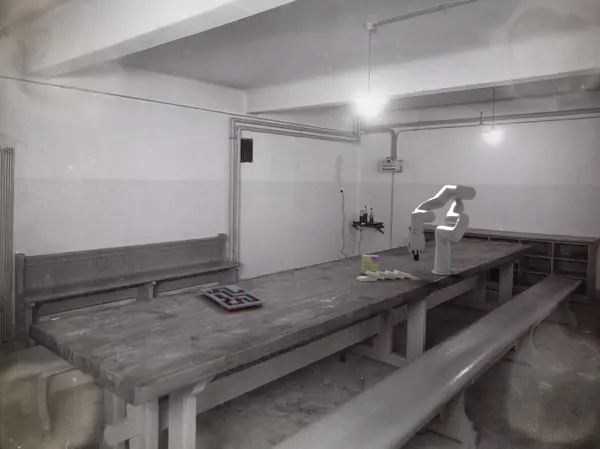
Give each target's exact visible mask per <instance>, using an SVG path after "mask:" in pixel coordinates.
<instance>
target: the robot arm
mask: <svg viewBox="0 0 600 449" xmlns="http://www.w3.org/2000/svg"><path fill="white" fill-rule="evenodd" d="M476 195H477V190H476V189H475V187H472V186H466V185H460V184H445V185H444V186H443V187H442V188H441V189H440V190H439V192H438V193H437V194H436V195H435V196H433V197H432V198H429V199H428V200H426V201H424V202H422V203H420V205H418V206H417V208H416V209H415V210H414V211H412V212H411V214H410V233H409V235H408V238H407V249H408V251H407V252H409V253H412V254H413V261H414V262H419V260H420V254H421V253H422V252H425V248H426V240H425V239H426V237H425V233H424V232H425V231H426V230H425V228H424V224H425V223H426V224H428V223H429V224H431V223H433V222H434V221H435V220H436V214H435V212H434V211H433V210H439V209H442V208H444V207H445V206H446V205H447V204H448V203H449V202H450V201H451V205H450V208H449V209H448V212H447V213H446V215H445V216H444V218H443V219H444V224H445V225H444V224H441V225H438V226H437V227H436V228H435V231H434V237H435V238H434V239H435V252H434V254H435V255H434V267H433V268H434V269H432V270H431V274H435V275H439V276H449V275H452V272H454V273H458V272H457V271H458V270H457V268H452V267H451V266H450V264H451V251H452V248H451V242H453V243H457V242H460V240H462V238H463V236H464V234H465V233H466V230H467V228H468V227H469V224H470V216H469V215H468V214H467V213H464V211H465V205H464V202H463V200H466V201H472V200H474V199H475V197H476Z"/></svg>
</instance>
